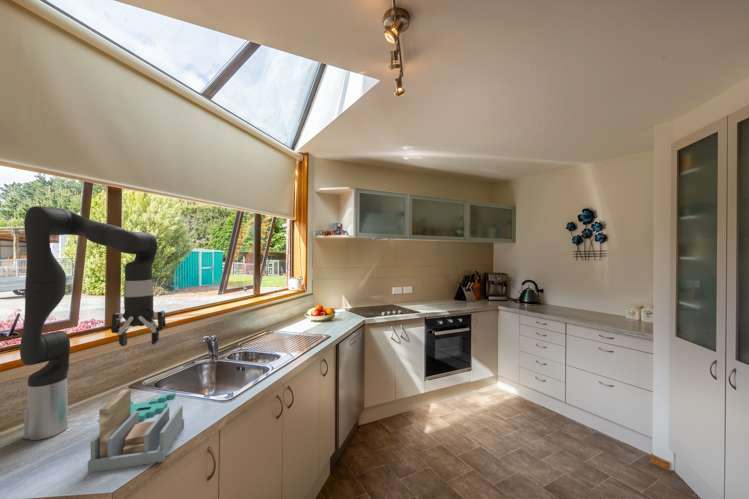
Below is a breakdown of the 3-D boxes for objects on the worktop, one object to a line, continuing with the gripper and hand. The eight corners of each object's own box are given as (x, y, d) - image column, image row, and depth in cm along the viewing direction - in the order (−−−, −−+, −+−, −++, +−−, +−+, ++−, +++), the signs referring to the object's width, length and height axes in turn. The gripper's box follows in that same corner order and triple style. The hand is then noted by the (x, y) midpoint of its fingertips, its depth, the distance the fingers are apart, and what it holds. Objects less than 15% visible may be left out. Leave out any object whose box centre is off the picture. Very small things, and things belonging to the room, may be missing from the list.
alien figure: (118, 403, 126) (88, 432, 106) (118, 398, 126) (87, 425, 106) (175, 397, 131) (155, 423, 112) (175, 392, 131) (155, 417, 112)
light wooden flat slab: (99, 466, 89) (99, 409, 89) (123, 439, 102) (123, 389, 102) (108, 465, 90) (107, 409, 90) (130, 438, 102) (130, 389, 102)
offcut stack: (121, 462, 91) (121, 443, 91) (136, 438, 102) (136, 422, 102) (148, 456, 93) (148, 438, 93) (159, 434, 105) (159, 418, 105)
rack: (87, 472, 86) (87, 443, 86) (122, 435, 104) (122, 411, 104) (162, 461, 91) (162, 434, 91) (184, 427, 108) (184, 404, 108)
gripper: (105, 296, 96) (106, 350, 96) (158, 294, 99) (159, 346, 99) (119, 293, 103) (120, 342, 103) (168, 291, 106) (169, 339, 106)
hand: (139, 344), depth 101 cm, fingers open, 8 cm apart
